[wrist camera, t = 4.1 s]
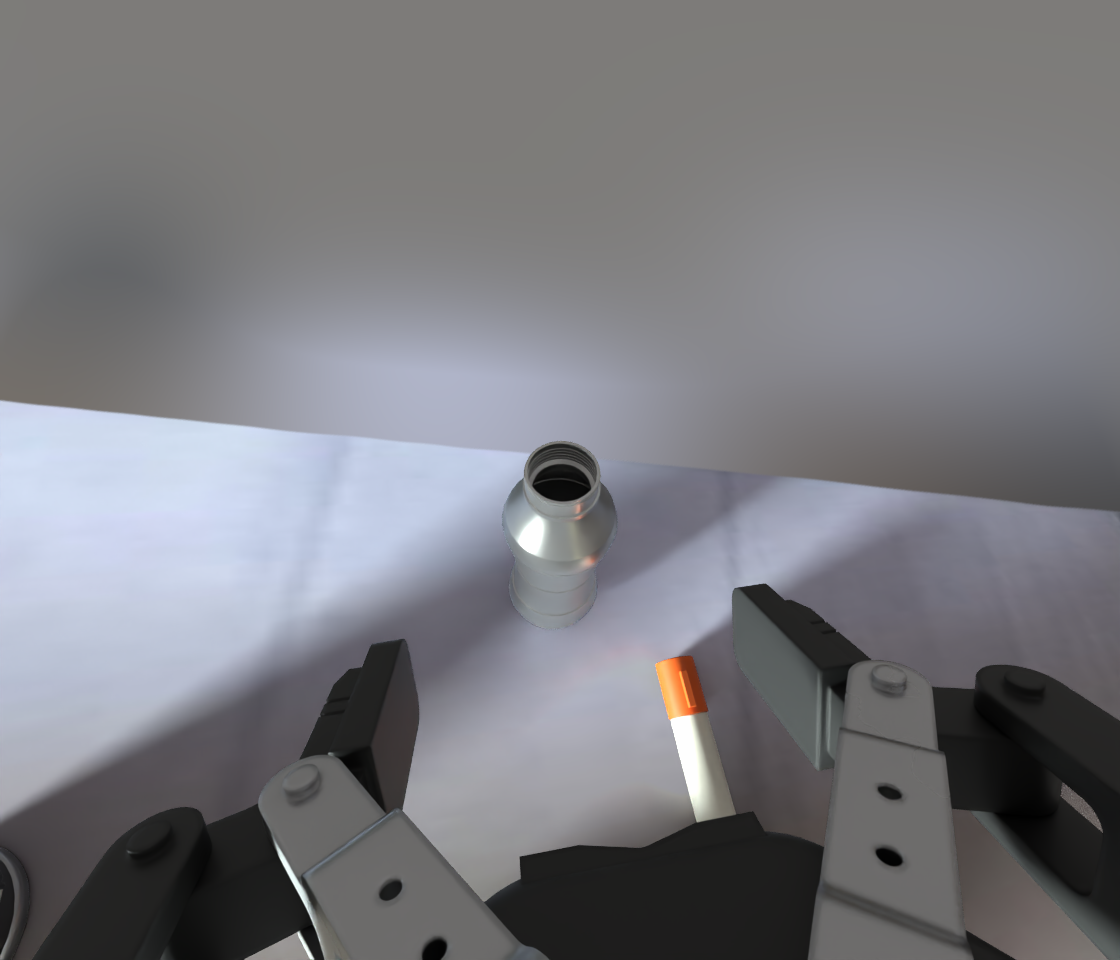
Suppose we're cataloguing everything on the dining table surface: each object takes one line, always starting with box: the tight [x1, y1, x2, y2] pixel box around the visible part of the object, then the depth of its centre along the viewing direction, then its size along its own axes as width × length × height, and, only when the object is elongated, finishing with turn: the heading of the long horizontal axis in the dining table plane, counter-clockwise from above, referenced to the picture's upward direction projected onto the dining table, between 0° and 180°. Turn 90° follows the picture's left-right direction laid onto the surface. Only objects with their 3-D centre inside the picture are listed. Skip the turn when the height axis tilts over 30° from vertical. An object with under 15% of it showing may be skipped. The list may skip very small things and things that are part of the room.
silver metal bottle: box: [502, 441, 618, 629], centre depth 35 cm, size 6×7×20 cm
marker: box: [656, 656, 736, 822], centre depth 36 cm, size 16×3×3 cm, turn 10°
